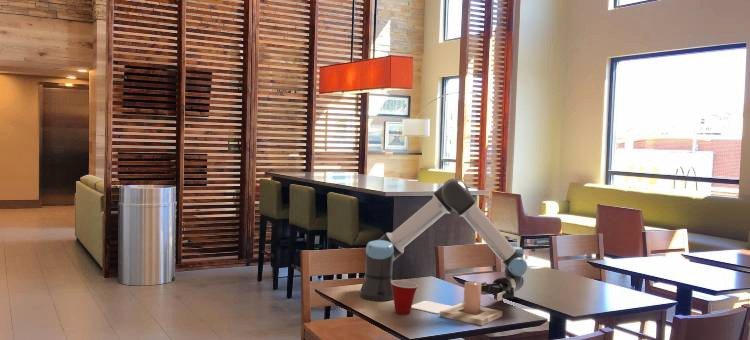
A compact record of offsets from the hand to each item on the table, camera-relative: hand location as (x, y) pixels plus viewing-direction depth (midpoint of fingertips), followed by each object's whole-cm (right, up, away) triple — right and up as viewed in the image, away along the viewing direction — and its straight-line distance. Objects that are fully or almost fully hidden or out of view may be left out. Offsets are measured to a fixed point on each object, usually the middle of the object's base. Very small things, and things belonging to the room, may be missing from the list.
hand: (482, 294), depth 257 cm
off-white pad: (-20, -6, +4) cm, 21 cm away
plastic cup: (-32, -6, -6) cm, 33 cm away
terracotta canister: (-5, -7, -6) cm, 11 cm away
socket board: (-5, -7, -6) cm, 11 cm away
